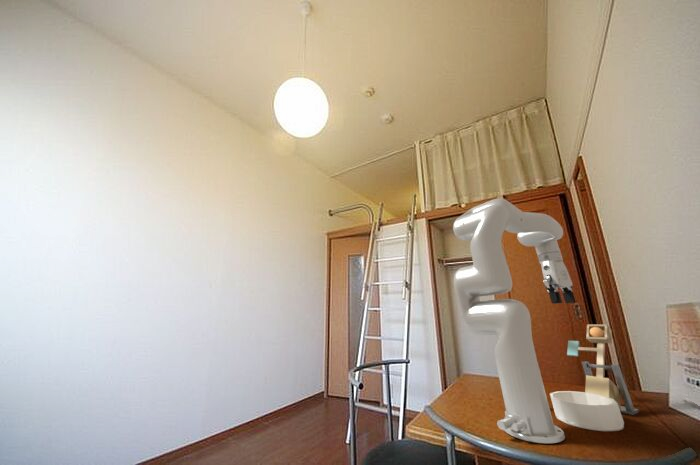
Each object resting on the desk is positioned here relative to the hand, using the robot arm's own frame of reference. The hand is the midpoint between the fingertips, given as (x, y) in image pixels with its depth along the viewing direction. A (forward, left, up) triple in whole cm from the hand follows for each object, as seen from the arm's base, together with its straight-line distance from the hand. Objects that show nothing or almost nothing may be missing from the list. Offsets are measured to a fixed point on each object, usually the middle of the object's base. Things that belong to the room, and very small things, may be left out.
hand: (564, 303), depth 95 cm
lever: (-5, -6, -21) cm, 22 cm away
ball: (-4, -9, -10) cm, 14 cm away
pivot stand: (-9, -9, -31) cm, 33 cm away
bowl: (-25, -9, -31) cm, 41 cm away
